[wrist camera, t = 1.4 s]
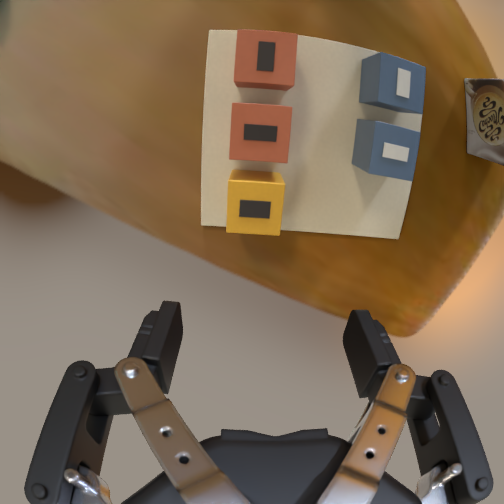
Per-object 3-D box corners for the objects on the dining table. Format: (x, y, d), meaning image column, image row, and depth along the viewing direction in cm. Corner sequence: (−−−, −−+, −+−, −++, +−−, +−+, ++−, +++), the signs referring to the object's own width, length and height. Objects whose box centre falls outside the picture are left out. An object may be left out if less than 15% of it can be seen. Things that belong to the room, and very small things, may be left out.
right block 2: (356, 118, 23) (376, 120, 19) (397, 127, 23) (421, 132, 19) (351, 163, 25) (368, 173, 21) (391, 170, 25) (413, 182, 21)
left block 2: (235, 104, 22) (231, 102, 19) (286, 108, 23) (292, 106, 19) (232, 152, 25) (228, 159, 21) (281, 155, 25) (287, 163, 21)
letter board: (209, 31, 20) (208, 30, 19) (422, 68, 20) (425, 68, 20) (201, 223, 28) (200, 225, 28) (396, 237, 29) (398, 239, 28)
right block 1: (361, 59, 20) (381, 51, 16) (402, 71, 20) (426, 67, 16) (358, 102, 22) (378, 101, 18) (399, 112, 22) (423, 114, 18)
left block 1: (239, 42, 20) (237, 28, 16) (290, 46, 20) (298, 33, 16) (236, 87, 22) (233, 81, 18) (287, 91, 22) (294, 86, 18)
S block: (231, 169, 25) (227, 180, 21) (280, 172, 25) (285, 184, 21) (230, 214, 27) (225, 233, 23) (275, 217, 27) (280, 236, 23)
